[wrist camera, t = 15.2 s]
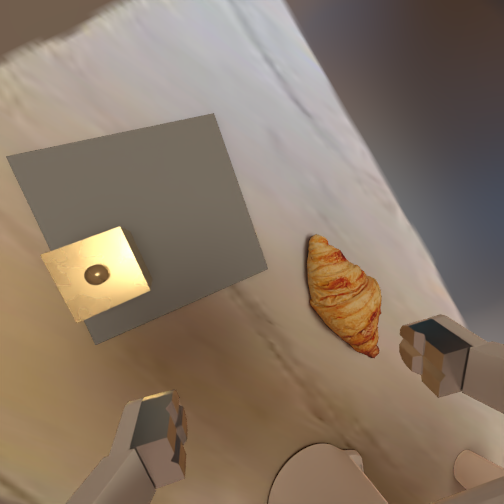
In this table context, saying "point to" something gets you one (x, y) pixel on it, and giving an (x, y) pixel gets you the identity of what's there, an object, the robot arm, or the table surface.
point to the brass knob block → (98, 272)
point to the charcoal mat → (148, 211)
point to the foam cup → (475, 470)
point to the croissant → (344, 296)
